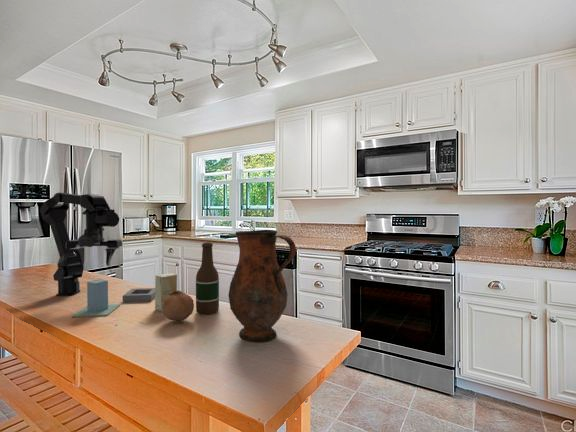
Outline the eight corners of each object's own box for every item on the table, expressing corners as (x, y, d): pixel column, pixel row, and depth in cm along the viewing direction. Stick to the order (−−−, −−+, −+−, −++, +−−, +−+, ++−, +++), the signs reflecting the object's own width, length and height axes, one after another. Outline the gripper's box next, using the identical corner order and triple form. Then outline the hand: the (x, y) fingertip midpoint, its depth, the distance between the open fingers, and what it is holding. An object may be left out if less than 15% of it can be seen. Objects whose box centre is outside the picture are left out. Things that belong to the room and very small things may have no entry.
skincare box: (161, 312, 110) (161, 277, 110) (154, 309, 113) (154, 275, 113) (177, 307, 115) (177, 274, 115) (170, 305, 118) (170, 272, 118)
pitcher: (255, 320, 103) (255, 227, 102) (310, 336, 90) (311, 230, 89) (215, 337, 90) (214, 230, 89) (273, 359, 77) (274, 235, 76)
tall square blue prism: (87, 310, 110) (87, 281, 110) (100, 306, 114) (99, 279, 114) (95, 312, 108) (95, 283, 108) (108, 308, 112) (107, 280, 112)
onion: (160, 328, 95) (160, 295, 95) (164, 318, 105) (163, 287, 104) (193, 325, 98) (193, 293, 98) (194, 315, 107) (194, 286, 107)
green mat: (72, 317, 105) (72, 315, 105) (88, 306, 116) (88, 305, 116) (107, 315, 106) (107, 314, 106) (120, 305, 117) (120, 304, 117)
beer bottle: (191, 312, 110) (190, 243, 109) (206, 306, 117) (206, 241, 116) (208, 316, 106) (208, 244, 105) (223, 310, 113) (223, 242, 112)
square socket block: (122, 302, 121) (122, 295, 121) (132, 294, 132) (132, 288, 132) (151, 301, 123) (151, 294, 123) (158, 293, 133) (158, 287, 133)
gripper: (56, 227, 117) (57, 270, 117) (111, 227, 119) (111, 268, 120) (73, 225, 128) (73, 264, 128) (122, 225, 130) (123, 263, 131)
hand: (95, 265), depth 126 cm, fingers open, 9 cm apart
